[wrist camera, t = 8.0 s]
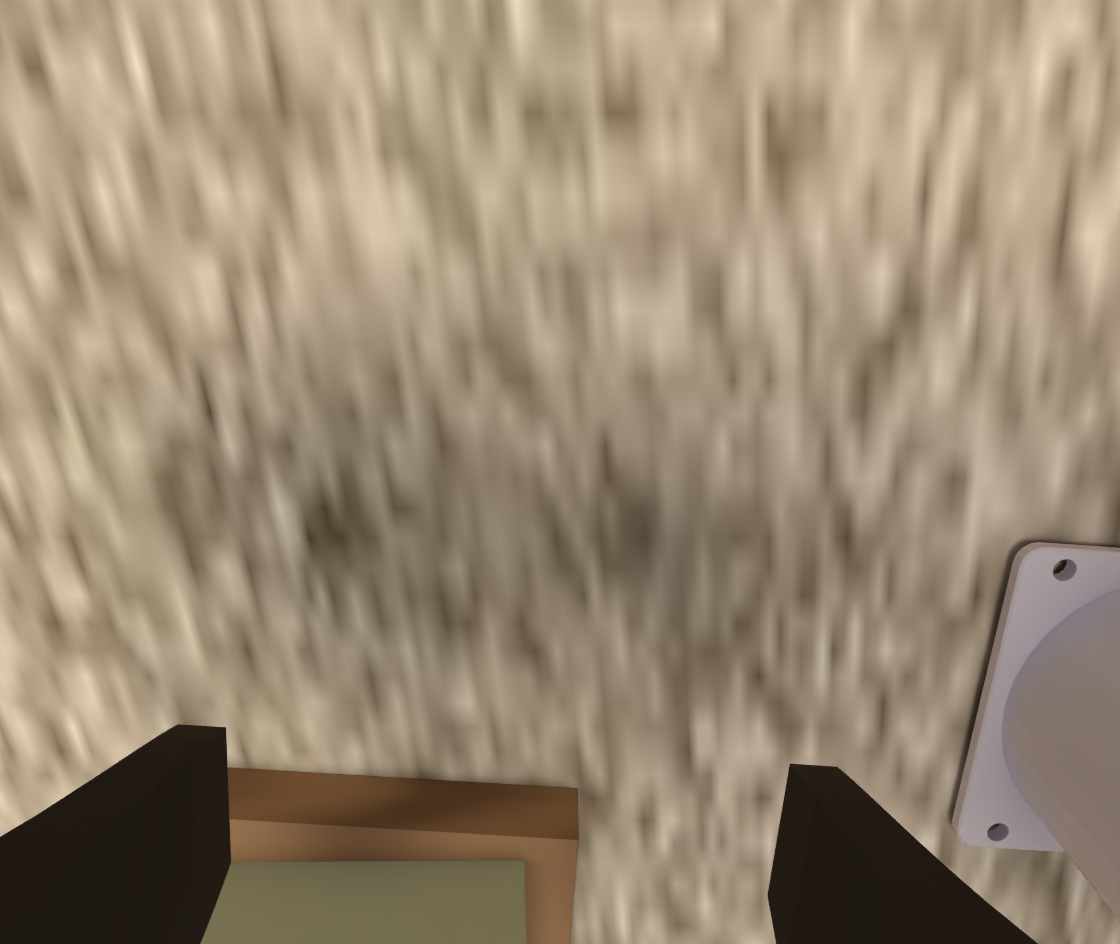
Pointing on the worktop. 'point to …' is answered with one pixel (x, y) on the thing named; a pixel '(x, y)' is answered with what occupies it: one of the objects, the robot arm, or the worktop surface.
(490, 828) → the walnut base block
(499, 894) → the sage top block
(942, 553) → the worktop surface
